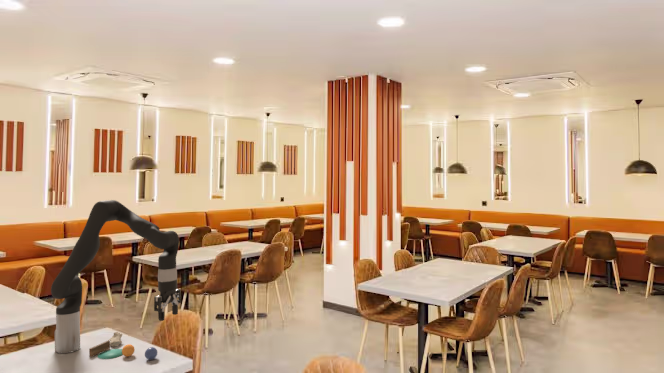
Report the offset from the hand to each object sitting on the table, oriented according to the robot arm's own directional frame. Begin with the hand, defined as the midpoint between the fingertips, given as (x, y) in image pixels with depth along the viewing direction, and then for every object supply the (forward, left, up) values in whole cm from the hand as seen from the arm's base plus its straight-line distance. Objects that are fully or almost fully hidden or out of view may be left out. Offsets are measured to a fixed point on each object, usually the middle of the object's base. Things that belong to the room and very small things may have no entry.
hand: (168, 317), depth 180 cm
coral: (-39, +11, -19) cm, 44 cm away
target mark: (-30, 0, -19) cm, 35 cm away
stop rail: (-37, 0, -19) cm, 41 cm away
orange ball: (-21, 0, -16) cm, 26 cm away
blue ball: (-9, 0, -16) cm, 19 cm away
